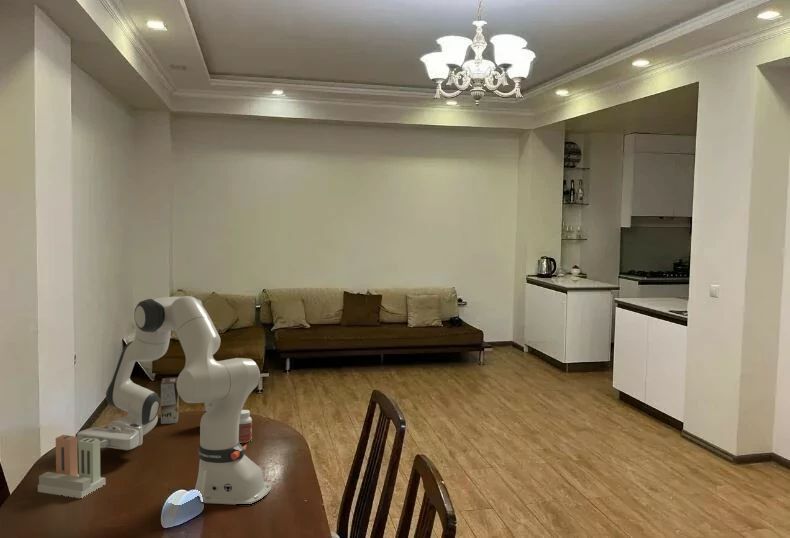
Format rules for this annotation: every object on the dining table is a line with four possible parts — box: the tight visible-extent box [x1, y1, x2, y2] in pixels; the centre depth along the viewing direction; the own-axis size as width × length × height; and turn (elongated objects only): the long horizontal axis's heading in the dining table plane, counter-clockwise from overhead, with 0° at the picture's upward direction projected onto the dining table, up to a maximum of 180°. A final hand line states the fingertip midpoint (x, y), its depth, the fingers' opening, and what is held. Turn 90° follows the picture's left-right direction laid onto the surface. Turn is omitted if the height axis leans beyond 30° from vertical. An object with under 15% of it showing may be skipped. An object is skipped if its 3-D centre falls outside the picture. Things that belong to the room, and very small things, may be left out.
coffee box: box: [160, 376, 180, 425], centre depth 247 cm, size 9×6×16 cm
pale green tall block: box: [77, 438, 101, 483], centre depth 186 cm, size 5×3×12 cm, turn 76°
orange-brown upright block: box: [55, 434, 79, 476], centre depth 188 cm, size 5×3×12 cm, turn 76°
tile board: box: [37, 471, 107, 499], centre depth 185 cm, size 15×10×4 cm, turn 76°
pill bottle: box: [239, 409, 253, 443], centre depth 226 cm, size 6×6×11 cm
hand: (91, 446), depth 198 cm, fingers closed
